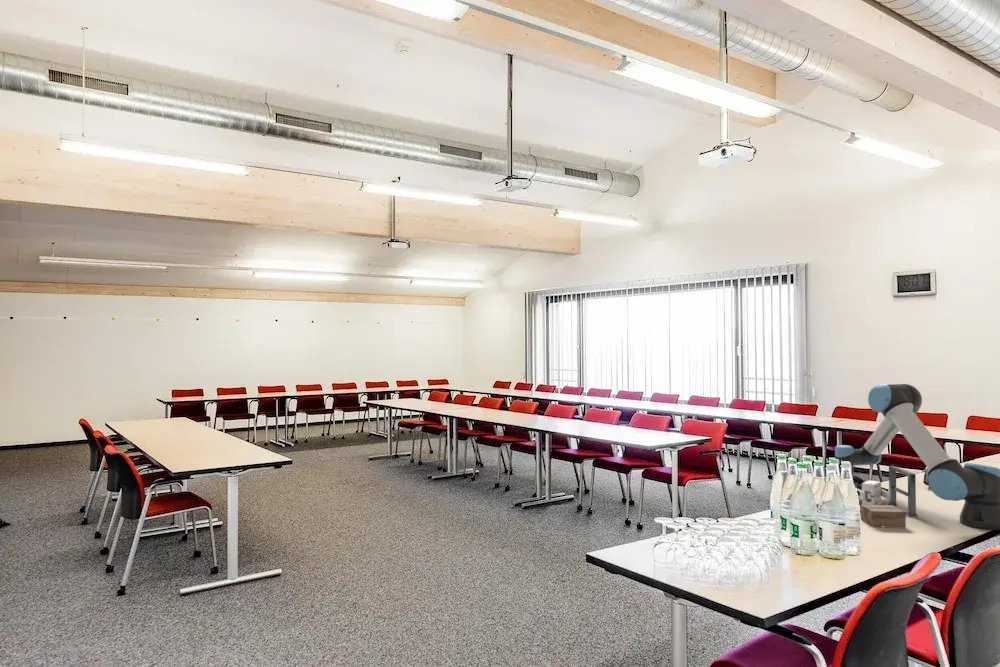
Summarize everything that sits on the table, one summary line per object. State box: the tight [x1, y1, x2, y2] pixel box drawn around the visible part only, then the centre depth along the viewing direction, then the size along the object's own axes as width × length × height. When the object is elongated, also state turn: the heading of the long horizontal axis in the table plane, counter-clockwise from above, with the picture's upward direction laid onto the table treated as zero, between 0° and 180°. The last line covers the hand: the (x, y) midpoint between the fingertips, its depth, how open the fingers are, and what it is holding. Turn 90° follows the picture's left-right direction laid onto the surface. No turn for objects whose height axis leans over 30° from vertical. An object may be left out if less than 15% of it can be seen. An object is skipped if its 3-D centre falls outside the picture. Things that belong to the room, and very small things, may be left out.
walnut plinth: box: [860, 504, 907, 528], centre depth 248 cm, size 10×12×6 cm
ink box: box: [861, 479, 882, 505], centre depth 268 cm, size 9×5×12 cm, turn 132°
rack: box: [887, 465, 918, 517], centre depth 267 cm, size 18×3×17 cm, turn 173°
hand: (876, 495), depth 264 cm, fingers closed on ink box, 9 cm apart
